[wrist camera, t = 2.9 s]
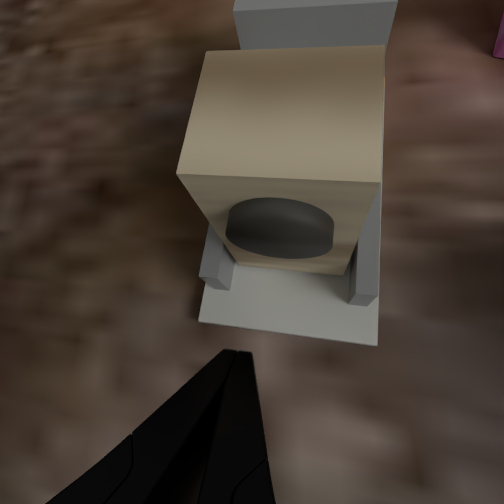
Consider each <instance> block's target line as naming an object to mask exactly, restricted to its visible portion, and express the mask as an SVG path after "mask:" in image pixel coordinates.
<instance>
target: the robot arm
mask: <svg viewBox="0 0 504 504" xmlns="http://www.w3.org/2000/svg"><path fill="white" fill-rule="evenodd" d="M45 504H276V502H275V497H274V491H273V486H272V480H271V474H270V468H269V461H268V455H267V448H266V441H265V434H264V428H263V421H262V414H261V407H260V400H259V393H258V386H257V380H256V373H255V366H254V359H253V353H252V352H250V351H242V350H240V351H237V350H234V349H223V350H222V351H221V352H219V353H218V354H217V355H216V356H215V357H214V358H213V359H212V360H211V361H210V362H209V363H207V364H206V365H205V366H204V367H203V368H202V369H201V370H200V371H199V372H198V373H196V374H195V375H194V376H193V377H192V378H191V379H190V380H189V381H188V382H187V383H186V384H184V385H183V386H182V387H181V388H180V389H179V390H178V391H177V392H176V393H175V394H173V395H172V396H171V397H170V398H169V399H168V400H167V401H166V402H165V403H164V404H162V405H161V406H160V407H159V408H158V409H157V410H156V411H155V412H154V413H153V414H152V415H150V416H149V417H148V418H147V419H146V420H145V421H144V422H143V423H142V424H141V425H139V426H138V427H137V428H136V429H135V430H134V431H133V432H132V434H130V435H128V436H127V437H126V438H125V439H124V440H123V441H122V442H121V443H120V444H118V445H117V446H116V447H115V448H114V449H113V450H112V451H110V452H109V453H108V454H107V455H106V456H105V457H104V458H102V459H101V460H100V461H99V462H98V463H97V464H95V465H94V466H93V467H92V468H90V469H89V470H88V471H87V472H85V473H84V474H83V475H82V476H80V477H79V478H78V479H77V480H75V481H74V482H73V483H71V484H70V485H69V486H68V487H66V488H65V489H64V490H62V491H61V492H60V493H58V494H57V495H56V496H55V497H53V498H52V499H51V500H49V501H48V502H47V503H45Z"/></svg>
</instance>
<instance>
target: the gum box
mask: <svg viewBox="0 0 504 504" xmlns="http://www.w3.org/2000/svg"><path fill="white" fill-rule="evenodd" d="M493 56H494V57H498V58H504V12H503V17H502V20H501V24H500V28H499V32H498V36H497V40H496V43H495V47H494V51H493Z"/></svg>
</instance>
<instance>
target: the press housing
mask: <svg viewBox="0 0 504 504" xmlns="http://www.w3.org/2000/svg"><path fill="white" fill-rule="evenodd" d="M397 3H398V0H235V4H234V8H233V15H234V19H235V24H236V29H237V34H238V38H239V43H240V48H241V50H253V49H281V48H309V47H337V46H366V45H385V51H386V47H387V43H388V39H389V35H390V31H391V27H392V23H393V19H394V15H395V11H396V7H397ZM384 69H385V61H384ZM384 89H385V77H384ZM383 125H384V95H383ZM382 161H383V130H382ZM381 197H382V165H381V184H380V186H379V189H378V191H377V194H376V196H375V198H374V201H373V203H372V206H371V208H370V211H369V213H368V216H367V218H366V221H365V223H364V225H363V228H362V230H361V233H360V235H359V238H358V240H357V243H356V245H355V248H354V250H353V253H352V255H351V257H350V260H349V262H348V265H347V267H346V270H345V272H344V275H343V276H340V275H329V274H319V273H309V272H299V271H289V270H279V269H269V268H259V267H249V266H239V265H238V263H237V262H236V260H235V259H234V257H233V256H232V254H231V253H230V251H229V250H228V249H227V247H226V246H225V244H224V243H223V241H222V240H221V238H220V237H219V235H218V234H217V233H216V231H215V230H214V228H213V227H212V225H211V224H210V222H209V227H208V232H207V237H206V242H205V247H204V252H203V257H202V262H201V266H200V271H199V277H200V278H201V279H202V280H204V281H205V282H206V283H205V288H204V294H203V299H202V304H201V309H200V314H199V319H198V321H199V322H202V323H207V324H215V325H222V326H229V327H237V328H244V329H251V330H258V331H266V332H273V333H280V334H287V335H295V336H302V337H309V338H316V339H324V340H331V341H338V342H345V343H353V344H360V345H367V346H377V341H378V305H379V269H380V233H381Z"/></svg>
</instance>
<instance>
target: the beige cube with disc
mask: <svg viewBox="0 0 504 504" xmlns="http://www.w3.org/2000/svg"><path fill="white" fill-rule="evenodd" d="M384 61H385V45H366V46H337V47H309V48H281V49H253V50H225V51H206V55H205V59H204V63H203V67H202V71H201V75H200V79H199V83H198V87H197V91H196V95H195V99H194V103H193V107H192V111H191V115H190V119H189V123H188V127H187V131H186V135H185V139H184V143H183V147H182V151H181V155H180V159H179V163H178V167H177V171H176V174H177V176H178V177H179V179H180V180H181V182H182V183H183V185H184V186H185V187H186V189H187V190H188V192H189V193H190V195H191V196H192V198H193V199H194V201H195V202H196V203H197V205H198V206H199V208H200V209H201V211H202V212H203V214H204V215H205V217H206V218H207V219H208V221H209V222H210V224H211V225H212V227H213V228H214V230H215V231H216V233H217V234H218V235H219V237H220V238H221V240H222V241H223V243H224V244H225V246H226V247H227V249H228V250H229V251H230V253H231V254H232V256H233V257H234V259H235V260H236V262H237V263H238V265H239V266H249V267H259V268H269V269H279V270H289V271H299V272H309V273H319V274H329V275H340V276H343V275H344V272H345V270H346V267H347V265H348V262H349V260H350V257H351V255H352V253H353V250H354V248H355V245H356V243H357V240H358V238H359V235H360V233H361V230H362V228H363V225H364V223H365V221H366V218H367V216H368V213H369V211H370V208H371V206H372V203H373V201H374V198H375V196H376V194H377V191H378V189H379V186H380V184H381V165H382V130H383V95H384Z"/></svg>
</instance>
